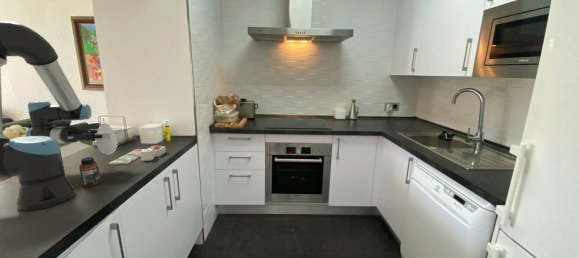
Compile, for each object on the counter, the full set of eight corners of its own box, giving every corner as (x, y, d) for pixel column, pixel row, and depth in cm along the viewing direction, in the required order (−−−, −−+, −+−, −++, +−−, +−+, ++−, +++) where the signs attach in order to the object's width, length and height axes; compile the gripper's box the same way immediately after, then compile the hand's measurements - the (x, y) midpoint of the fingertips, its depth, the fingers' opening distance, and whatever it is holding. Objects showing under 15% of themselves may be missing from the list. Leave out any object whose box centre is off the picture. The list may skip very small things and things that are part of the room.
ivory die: (151, 160, 131) (150, 150, 129) (141, 160, 130) (140, 151, 128) (154, 157, 135) (153, 148, 134) (144, 157, 134) (143, 148, 133)
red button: (157, 153, 138) (156, 147, 137) (148, 153, 137) (148, 148, 137) (161, 150, 142) (160, 145, 142) (153, 150, 142) (152, 145, 142)
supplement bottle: (86, 182, 104) (81, 157, 101) (103, 180, 106) (98, 155, 103) (80, 188, 98) (75, 161, 96) (98, 185, 100) (93, 159, 98)
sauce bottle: (101, 153, 120) (95, 116, 116) (120, 151, 123) (114, 115, 119) (96, 157, 113) (90, 119, 109) (117, 155, 116) (111, 117, 112)
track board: (127, 164, 124) (126, 162, 124) (108, 164, 124) (108, 162, 124) (151, 150, 148) (151, 148, 148) (136, 150, 147) (135, 148, 147)
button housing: (159, 156, 136) (158, 150, 136) (144, 156, 136) (143, 150, 135) (165, 152, 144) (165, 146, 144) (152, 152, 144) (151, 146, 143)
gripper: (84, 137, 126) (130, 136, 127) (48, 148, 106) (102, 147, 107) (82, 123, 124) (128, 122, 125) (44, 131, 104) (99, 130, 105)
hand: (116, 133), depth 116 cm, fingers closed on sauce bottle, 7 cm apart
